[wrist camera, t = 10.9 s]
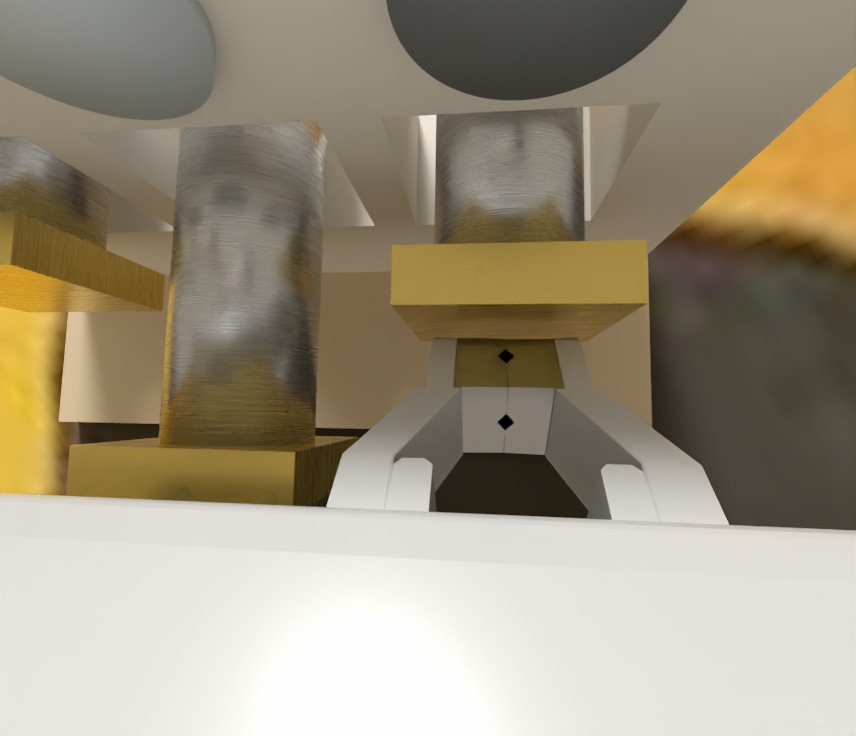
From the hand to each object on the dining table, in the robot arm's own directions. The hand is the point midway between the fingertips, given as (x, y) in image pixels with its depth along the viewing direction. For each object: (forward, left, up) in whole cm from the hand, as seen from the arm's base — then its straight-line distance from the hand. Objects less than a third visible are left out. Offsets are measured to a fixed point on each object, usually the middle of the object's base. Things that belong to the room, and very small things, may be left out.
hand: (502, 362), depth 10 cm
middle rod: (-4, +4, -1) cm, 6 cm away
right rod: (+2, +6, -1) cm, 6 cm away
